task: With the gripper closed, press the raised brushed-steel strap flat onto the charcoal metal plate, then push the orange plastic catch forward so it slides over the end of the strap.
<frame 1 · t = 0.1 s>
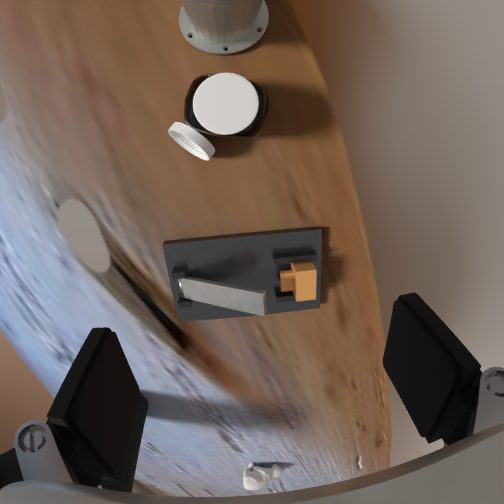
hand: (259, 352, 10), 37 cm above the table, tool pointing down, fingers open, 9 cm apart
catch: (297, 280, 46), point 4 cm above the table, slide at 0.0 cm
spread jar: (217, 120, 40), on the table
strap: (218, 294, 44), point 5 cm above the table, hinge at 30.0°
white rounded lump: (261, 464, 75), on the table
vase: (127, 399, 61), on the table
plate: (245, 274, 50), on the table
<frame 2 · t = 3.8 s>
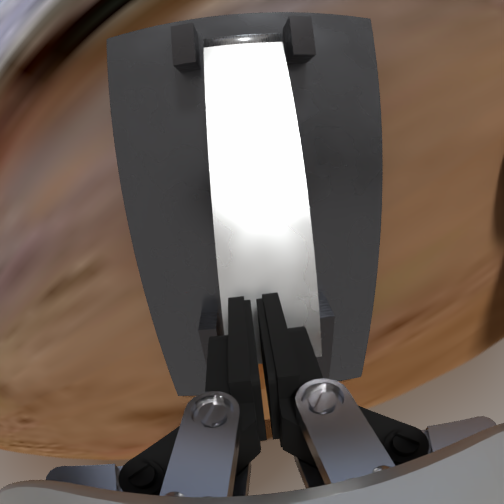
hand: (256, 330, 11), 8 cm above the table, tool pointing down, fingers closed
catch: (270, 369, 17), point 4 cm above the table, slide at 0.0 cm
strap: (257, 174, 12), point 5 cm above the table, hinge at 24.8°, touching gripper
plate: (257, 228, 18), on the table
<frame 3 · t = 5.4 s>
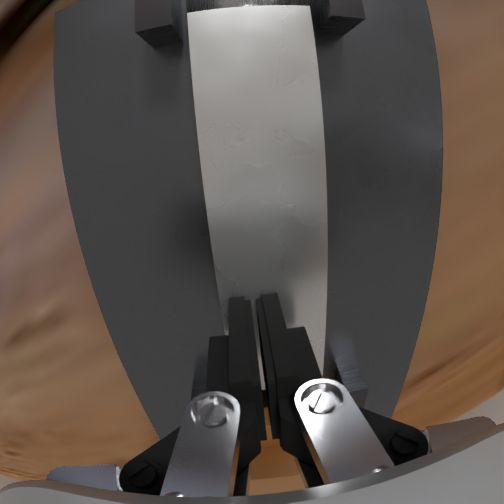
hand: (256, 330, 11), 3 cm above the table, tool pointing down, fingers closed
catch: (283, 446, 12), point 4 cm above the table, slide at 0.0 cm
strap: (267, 210, 9), point 2 cm above the table, hinge at 1.2°, touching gripper
plate: (267, 272, 13), on the table
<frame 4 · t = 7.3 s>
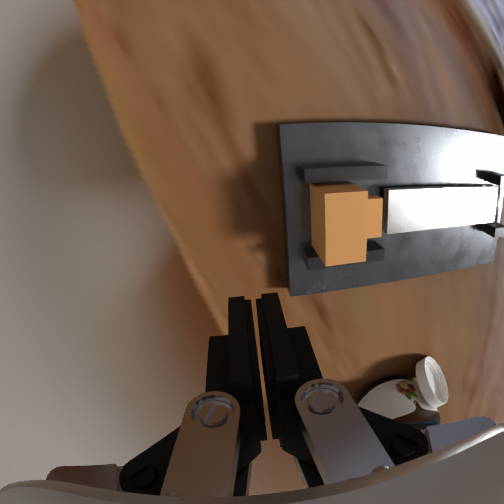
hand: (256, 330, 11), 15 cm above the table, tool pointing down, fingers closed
catch: (350, 219, 22), point 4 cm above the table, slide at 0.0 cm
spread jar: (394, 383, 34), on the table
strap: (451, 206, 23), point 2 cm above the table, hinge at 1.1°
plate: (411, 201, 25), on the table
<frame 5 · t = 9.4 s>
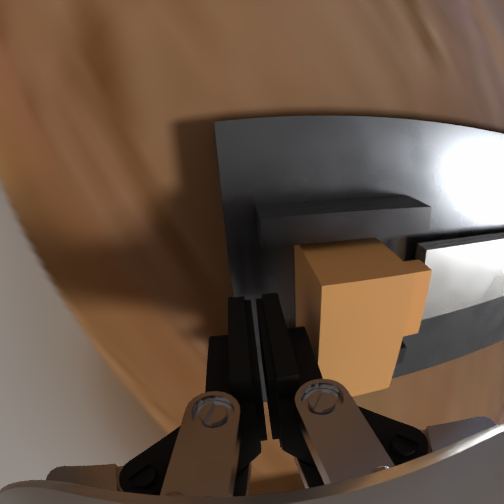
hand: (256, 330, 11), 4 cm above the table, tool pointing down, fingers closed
catch: (368, 309, 11), point 4 cm above the table, slide at 0.7 cm, touching gripper
plate: (451, 254, 15), on the table
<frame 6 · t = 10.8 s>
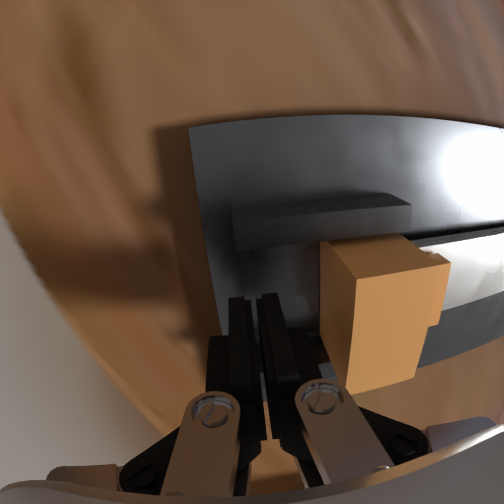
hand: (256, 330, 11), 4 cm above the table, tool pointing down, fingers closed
catch: (392, 302, 11), point 4 cm above the table, slide at 2.6 cm
strap: (502, 260, 13), point 2 cm above the table, hinge at 1.1°
plate: (440, 251, 14), on the table
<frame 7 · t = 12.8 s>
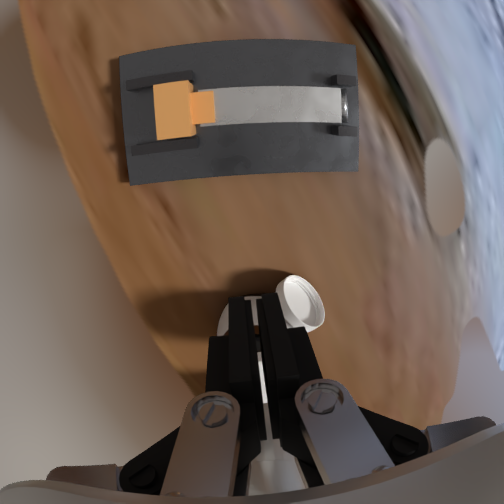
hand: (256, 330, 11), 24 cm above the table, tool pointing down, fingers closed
catch: (186, 109, 25), point 4 cm above the table, slide at 2.6 cm
spread jar: (267, 305, 39), on the table
strap: (276, 104, 27), point 2 cm above the table, hinge at 1.1°
plate: (241, 106, 29), on the table
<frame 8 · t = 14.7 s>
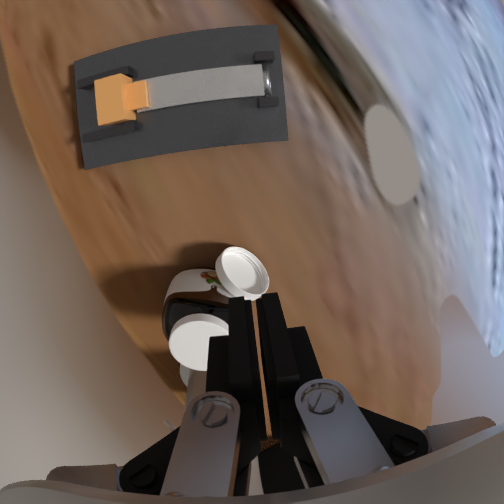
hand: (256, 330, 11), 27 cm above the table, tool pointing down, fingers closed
catch: (124, 98, 27), point 4 cm above the table, slide at 2.6 cm
spread jar: (217, 280, 40), on the table
strap: (202, 85, 29), point 2 cm above the table, hinge at 1.1°
bookend: (276, 456, 59), on the table
plate: (175, 92, 31), on the table
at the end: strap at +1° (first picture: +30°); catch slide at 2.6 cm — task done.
